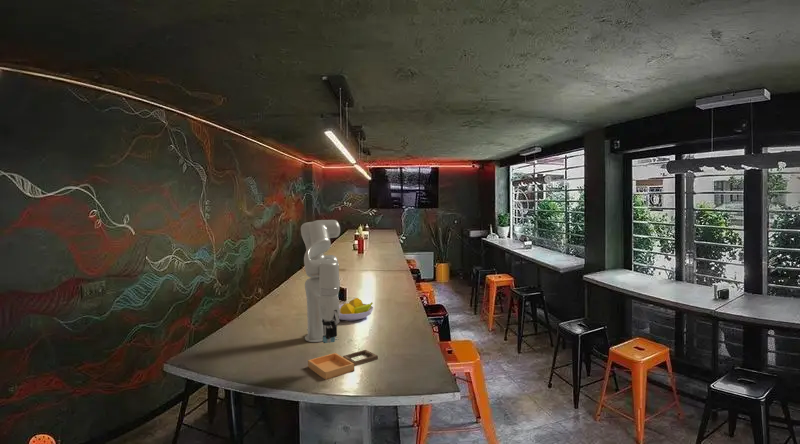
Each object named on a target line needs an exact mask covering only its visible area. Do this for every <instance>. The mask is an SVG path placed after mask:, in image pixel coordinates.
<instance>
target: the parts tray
mask: <svg viewBox="0 0 800 444" xmlns="http://www.w3.org/2000/svg"><path fill="white" fill-rule="evenodd" d="M307 367H308V368H309V370H311V371H312V372H314V373H315V374H317V375H318V376H320V377H321V378H323V379H324V380H325V381H327V380H331V379H333V378H336V377H340V376H343V375H346V374H349V373H353V372H355V371H356V369H355V366H354V363H352V362H350V361H349V360H347V359H345V358H344V357H343V355H342V356H341V354H338V353H336V352H333V353H330V354H326V355H322V356H318V357H315V358H311V359H308V360H307Z"/></svg>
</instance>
